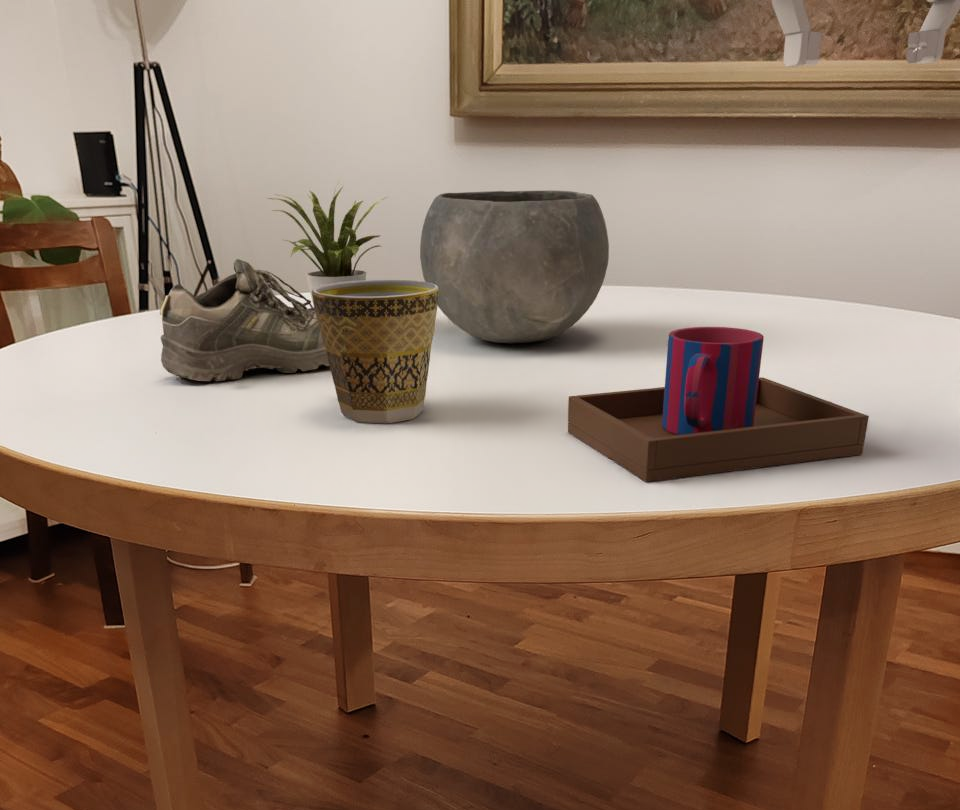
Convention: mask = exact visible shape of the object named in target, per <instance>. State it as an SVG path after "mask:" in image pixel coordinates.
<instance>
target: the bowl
mask: <svg viewBox="0 0 960 810" xmlns="http://www.w3.org/2000/svg"><path fill="white" fill-rule="evenodd" d="M608 235H609V234H608V228H607V225H606V220H605V217H604V214H603V211H602V208H601V206H600V204H599V202H598V200H597V199H596V197H595V196H594V195H593V194H592V193H591V194H590V193H585V192H584V193H583V192H577V191H571V190H551V189H550V190H509V191H506V190H495V191H494V190H492V191H491V190H490V191H489V190H488V191H467V192H444V193H440V194H438V195H437V196H435V198H433V201H432V203H431V204H430V206H429V208H428V210H427V212H426V215H425V218H424V221H423V224H422V229H421V236H420V247H419V249H420V250H419V259H420V266H421V272H422V277H423V280H424V282H428V283H432V284H435V285H437V286H438V304H437V308H439V310H440V311H441V312H442V313H443V315H445V317H446V318H448V319H449V321H450V322H451V323H453V324H454V325H455V326H456V327H458V328H459V329H460V330H462V331H463V332H464V333H466V334H468V335H469V336H471V337H474V338H476V339H479V340H482V341H486V342H491V343H497V344H511V345H513V344H526V343H537V342H542V341H545V340H549V339H551V338H554V337H558V336H559V335H561V334H562V333H564V332H565V331H567V330H568V329H570V328H571V327H573V326H574V325H575V324H576V323H578V321H579V320H581V318H583V316H585V314H586V313H587V312H588V311H589V309H590V308H591V306H593V304H594V302H595V300H596V299H597V297H598V295H599V293H600V291H601V288H602V286H603V284H604V282H605V281H604V280H605V278H606V274H607V270H608V265H609V257H610V243H609V242H610V241H609V236H608Z"/></svg>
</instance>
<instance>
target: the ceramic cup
mask: <svg viewBox="0 0 960 810" xmlns="http://www.w3.org/2000/svg"><path fill="white" fill-rule="evenodd" d="M312 297H313V301H312V304H313V303H314V305H313V308H315V313H316V317H317V321H318V325H319V329H320V333H321V336H322V340H323V343H324V346H325V349H326V353H327V357H328V362H329V366H328V367H329V369H330V374H331V377H332V382H333V385H334V389H335V393H336V394H335V395H336V397H337V401H338V405H339V409H340V412H341V414H342V415H343V417H346V418H348V419H350V420H352V421H354V422H356V423H368V424H392V423H393V424H394V423H399V422H404V421H405V422H406V421H410V420H411V421H412V420H414V419H415V418H416V417H418V415H420V414H421V413H422V412H423V409H424V407H425V400H426V394H427V393H426V392H427V384H428V376H429V368H430V361H431V350H432V343H433V338H434V334H435V328H436V322H437V321H436V320H437V312H438V306H437V304H438V286H437V285H435V284H432V283H428V282H425V281H422V280H411V279H366V280H361V281H347V282H339V283H332V284H327V285H322V286H319V287H316V288H314V289H313V290H312ZM312 297H311V298H312Z"/></svg>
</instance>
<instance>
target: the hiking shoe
mask: <svg viewBox="0 0 960 810" xmlns="http://www.w3.org/2000/svg"><path fill="white" fill-rule="evenodd" d="M233 270H234V273H233V274H230V275H228V276H227V277H225V278H223V279H221V280H219V281H218V282H217V283H216V284H214V285H213V286H212V287H210V288H208V289H207V290H206V291H203V292H202V293H200V294H198V295H194V294H193V293H192V292H191V291H190V290H188V289H186V288H185V287H184V286H182V285H181V284H179V283H177V284H175V285H174V286H173V287H171V289H170V291H169V293H168V294H167V295H165V298H164V300H163V303H162V305H161V306H160V310H159V315H161V316H162V317H161V323H162V330H163V334H161V336H160V341H161V342H160V343H161V345H162V348H161V356H160V361H161V365H162V367H163V369H165V370H166V371H167V373H168V374H171V375H174V376H176V377H179V378H181V379H185V378H186V379H188V380H191V381H197V382H208V383H209V382H211V381H214V382H225V381H226V380H230V381H231V380H239V379H242V377H243V373H244V372H247V371H249V370H254V369H256V368H258V369H268V370H269V369H270V370H273V369H276V371H278V372H280V373H283V374H291V373H292V374H293V373H296V372H297V371H298V370H301V372H308V371H312V370H318V369H319V367H320V366H325V367H330V366H329V362H328V357H327V353H326V349H325V346H324V343H323V340H322V336H321V333H320V329H319V325H318V321H317V317H316V313H315V308H314V305H313V304H312V300H311V299H307V298H306V297H305V296H304V295H303V294H301V293H300V292H299V291H298V290H296V289H295V288H293V287H292V285H290V284H288V283H286V282H285V281H284V280H282V279H281V278H280V277H279V276H277V275H275V274H274V273H272V272H271V271H268V270H262V269H255V268H254V267H253V266H252V265H251V264H250V263H249V262H247V261H245V260H242V259H238V258H236V260H235V261H234V262H233ZM277 280H278V281H279V282H280V283H282V284H283V285H285V286H287V287H288V288H289V289H291V291H292V292H293V293H292V292H290V291H288V290H286V289H284V288H283V287H282V285H281V284H280V283H279V282H278V281H277ZM273 291H274V292H276V293H278V295H280V296H281V297H282V298H283V299H285V300H286V301H287V302H289V303H290V304H291V305H292V306H288V305H287V304H286V303H285V302H283V301H282V300H281V299H280V298H278V297H277V296H276V295H275V294H274V292H273ZM294 293H295V294H294ZM289 294H290V295H292V296H294V297H297V298H299V299H302V300H304V301H305V302H303V303H302V302H300V301H299V300H297V299H296V298H293V297H291V296H290V295H289ZM308 305H309V306H310V308H308V307H307V306H308Z"/></svg>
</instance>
